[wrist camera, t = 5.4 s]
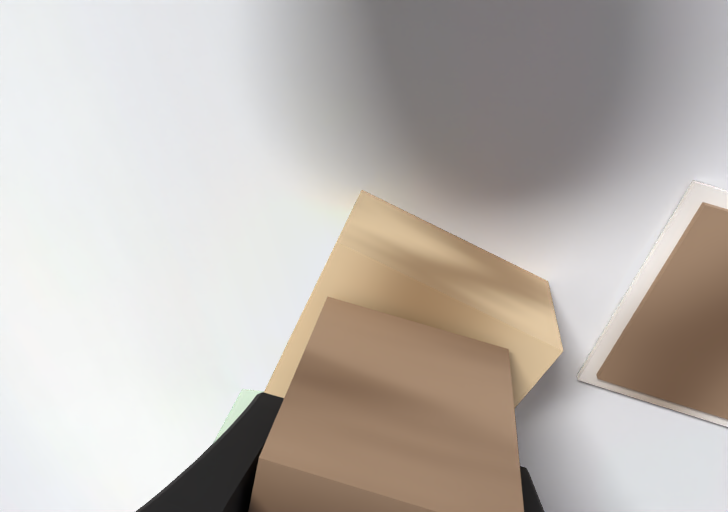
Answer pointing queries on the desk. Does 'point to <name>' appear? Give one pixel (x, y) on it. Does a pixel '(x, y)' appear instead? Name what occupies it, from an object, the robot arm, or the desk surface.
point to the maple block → (431, 291)
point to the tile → (674, 317)
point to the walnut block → (392, 422)
